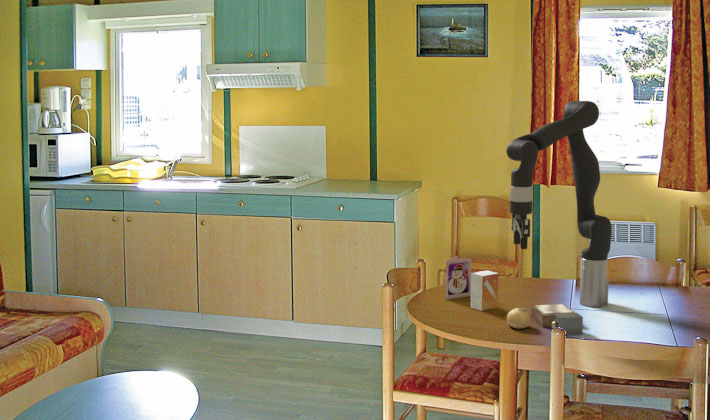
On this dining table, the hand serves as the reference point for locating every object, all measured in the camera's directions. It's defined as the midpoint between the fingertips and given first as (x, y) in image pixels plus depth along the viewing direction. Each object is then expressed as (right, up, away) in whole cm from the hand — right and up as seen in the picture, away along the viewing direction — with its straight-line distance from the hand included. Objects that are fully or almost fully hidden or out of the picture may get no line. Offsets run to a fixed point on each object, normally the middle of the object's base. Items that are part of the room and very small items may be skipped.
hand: (520, 246), depth 273 cm
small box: (-9, -23, +19) cm, 32 cm away
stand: (+12, -26, +2) cm, 28 cm away
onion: (-2, -27, -4) cm, 28 cm away
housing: (+13, -28, -11) cm, 33 cm away
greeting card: (-18, -21, +36) cm, 46 cm away
